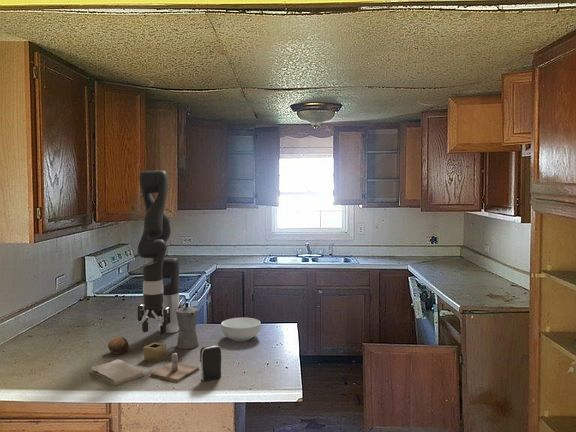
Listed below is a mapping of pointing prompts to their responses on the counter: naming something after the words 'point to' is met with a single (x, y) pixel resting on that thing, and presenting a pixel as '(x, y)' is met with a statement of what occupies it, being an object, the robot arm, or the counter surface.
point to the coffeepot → (187, 326)
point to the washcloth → (116, 372)
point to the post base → (178, 373)
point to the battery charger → (210, 362)
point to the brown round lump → (118, 345)
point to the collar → (155, 352)
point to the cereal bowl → (240, 328)
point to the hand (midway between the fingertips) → (154, 333)
